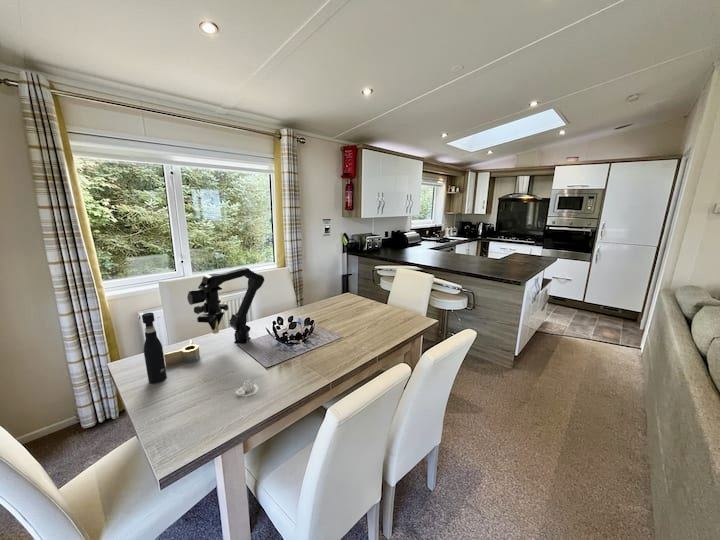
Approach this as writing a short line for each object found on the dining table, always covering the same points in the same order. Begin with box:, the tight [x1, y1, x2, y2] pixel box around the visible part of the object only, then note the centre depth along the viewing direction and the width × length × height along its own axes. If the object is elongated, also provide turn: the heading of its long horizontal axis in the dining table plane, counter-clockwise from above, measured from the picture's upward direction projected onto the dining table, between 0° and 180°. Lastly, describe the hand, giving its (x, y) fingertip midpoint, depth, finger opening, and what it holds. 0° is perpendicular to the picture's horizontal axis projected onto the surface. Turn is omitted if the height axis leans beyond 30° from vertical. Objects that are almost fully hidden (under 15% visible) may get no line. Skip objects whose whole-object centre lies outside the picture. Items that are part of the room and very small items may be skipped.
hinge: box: [163, 338, 201, 367], centre depth 140 cm, size 12×16×6 cm
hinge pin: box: [211, 317, 220, 334], centre depth 146 cm, size 3×3×8 cm
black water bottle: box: [141, 312, 168, 385], centre depth 120 cm, size 6×6×30 cm
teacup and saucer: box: [235, 379, 259, 397], centre depth 117 cm, size 9×8×4 cm
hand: (215, 328), depth 146 cm, fingers closed on hinge pin, 3 cm apart
